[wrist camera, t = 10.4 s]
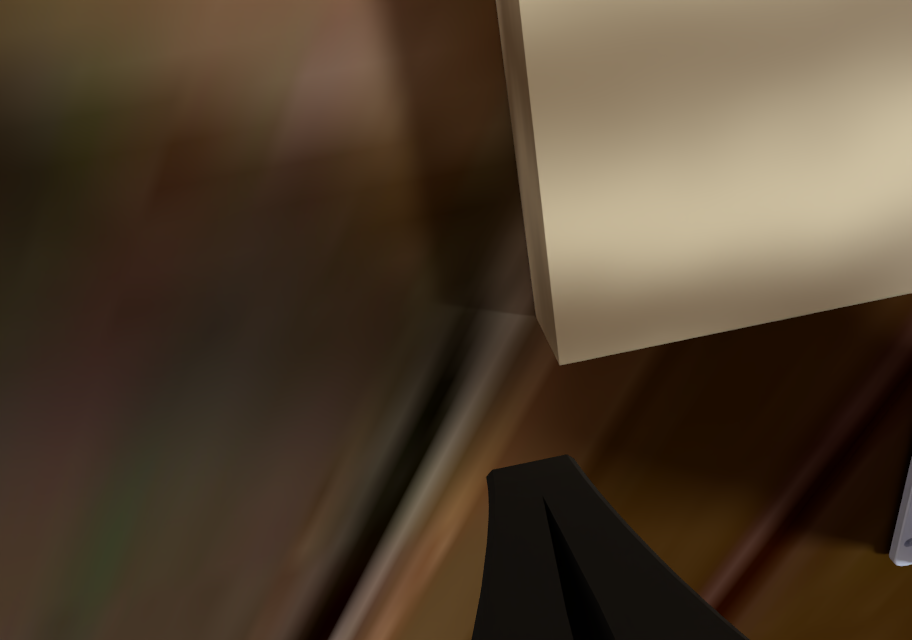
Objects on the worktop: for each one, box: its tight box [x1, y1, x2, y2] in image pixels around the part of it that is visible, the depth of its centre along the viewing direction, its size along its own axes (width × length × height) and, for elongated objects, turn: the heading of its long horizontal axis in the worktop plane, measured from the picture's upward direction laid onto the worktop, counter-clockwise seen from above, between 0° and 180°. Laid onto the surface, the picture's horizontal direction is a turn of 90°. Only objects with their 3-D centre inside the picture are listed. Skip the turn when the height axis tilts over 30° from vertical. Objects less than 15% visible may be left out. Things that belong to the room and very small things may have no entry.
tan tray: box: [496, 0, 912, 365], centre depth 15 cm, size 14×12×3 cm
